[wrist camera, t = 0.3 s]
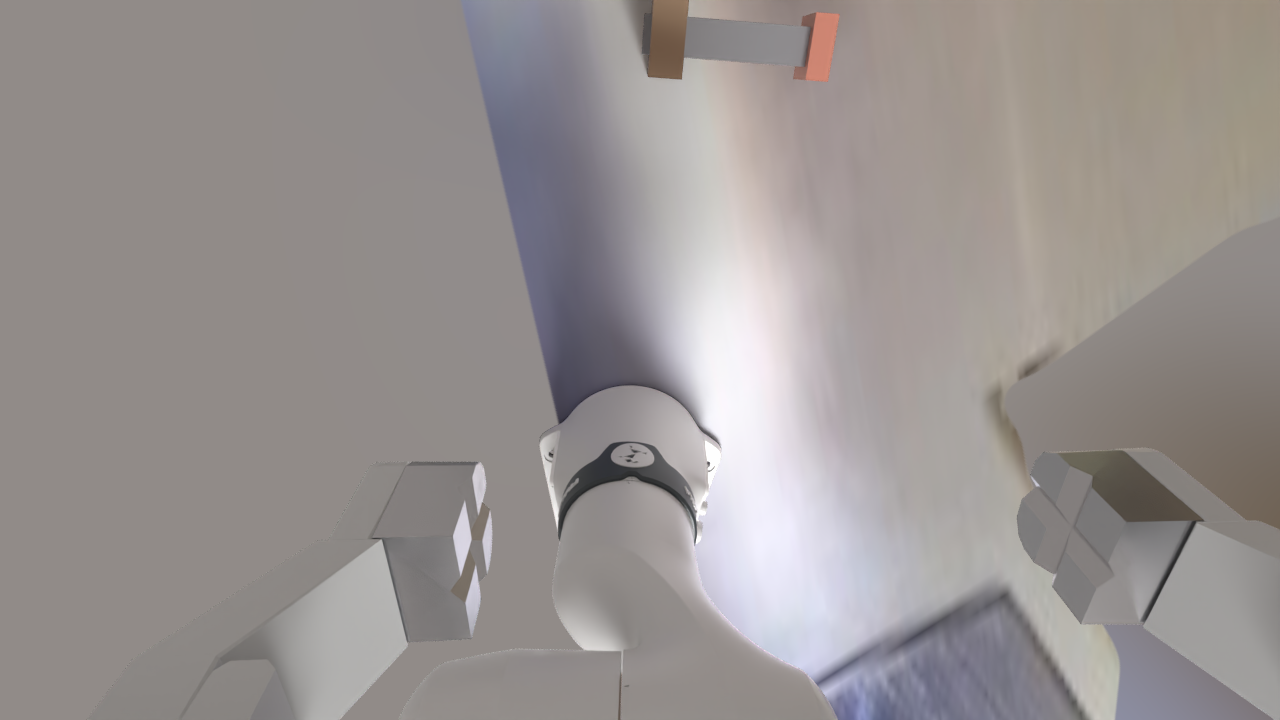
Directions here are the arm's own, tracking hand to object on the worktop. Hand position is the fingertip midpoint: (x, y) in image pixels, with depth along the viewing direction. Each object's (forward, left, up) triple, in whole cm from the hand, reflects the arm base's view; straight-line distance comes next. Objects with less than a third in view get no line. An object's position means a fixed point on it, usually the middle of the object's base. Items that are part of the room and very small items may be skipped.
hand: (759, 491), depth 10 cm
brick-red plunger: (+8, -4, -43) cm, 44 cm away
